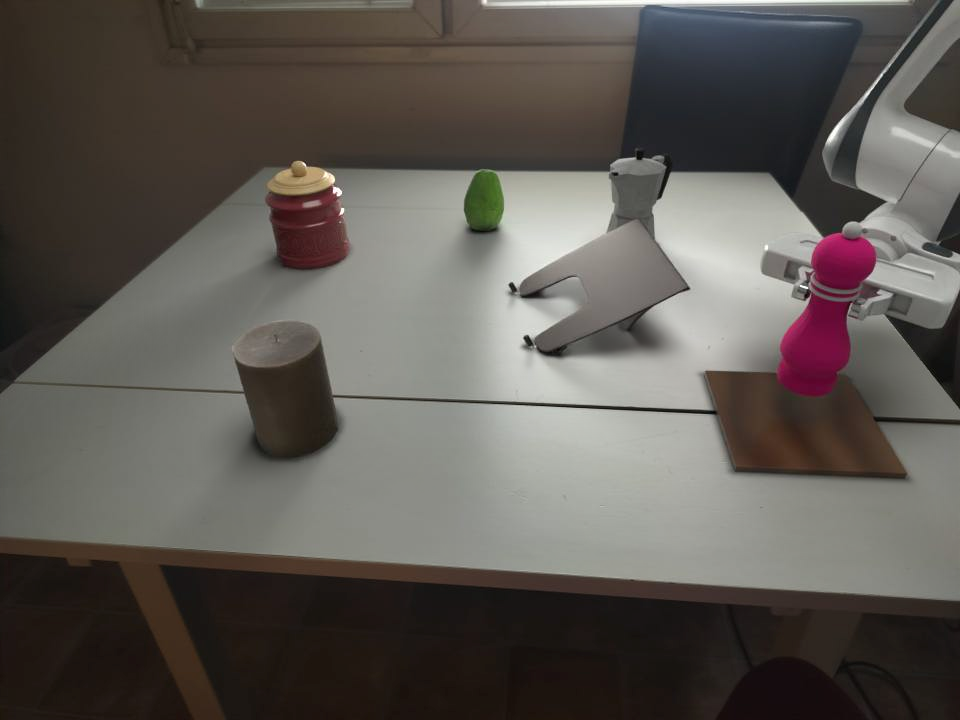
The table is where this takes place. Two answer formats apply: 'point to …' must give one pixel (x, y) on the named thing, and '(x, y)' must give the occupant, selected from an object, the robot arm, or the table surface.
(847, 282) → the pepper mill
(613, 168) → the coffeepot
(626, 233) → the laptop tray
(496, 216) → the avocado
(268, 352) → the pillar candle
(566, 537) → the table surface
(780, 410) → the walnut board
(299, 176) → the kitchen canister
